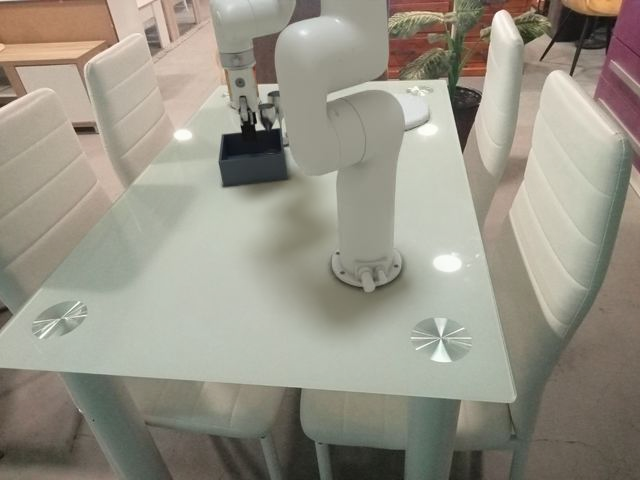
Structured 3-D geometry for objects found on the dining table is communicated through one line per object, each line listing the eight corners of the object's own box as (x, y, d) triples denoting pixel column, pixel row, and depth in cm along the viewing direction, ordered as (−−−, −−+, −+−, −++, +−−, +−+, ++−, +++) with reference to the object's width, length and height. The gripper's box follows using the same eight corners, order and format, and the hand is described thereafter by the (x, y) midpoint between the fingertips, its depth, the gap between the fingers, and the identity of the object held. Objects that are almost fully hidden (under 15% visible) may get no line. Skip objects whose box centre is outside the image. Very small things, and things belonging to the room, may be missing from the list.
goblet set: (276, 155, 122) (269, 105, 114) (257, 152, 125) (249, 103, 117) (324, 114, 142) (321, 69, 134) (307, 112, 144) (303, 67, 136)
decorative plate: (338, 120, 129) (344, 87, 148) (339, 134, 131) (345, 100, 151) (433, 118, 126) (426, 85, 145) (432, 133, 128) (425, 98, 148)
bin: (287, 179, 114) (284, 154, 110) (223, 186, 113) (218, 162, 109) (284, 150, 126) (281, 127, 122) (226, 157, 125) (221, 134, 121)
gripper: (254, 67, 96) (267, 145, 106) (254, 46, 110) (265, 117, 120) (217, 71, 96) (233, 149, 106) (222, 49, 110) (236, 120, 120)
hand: (250, 132), depth 113 cm, fingers open, 9 cm apart
